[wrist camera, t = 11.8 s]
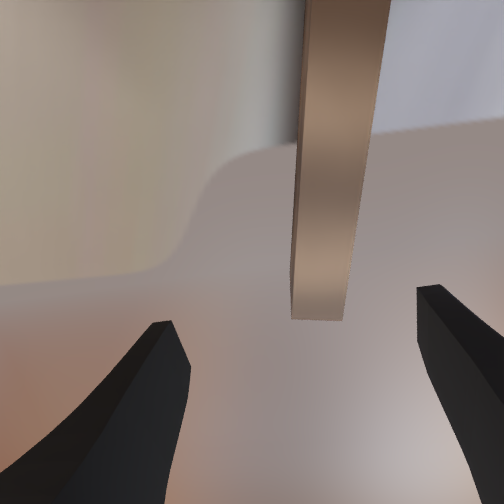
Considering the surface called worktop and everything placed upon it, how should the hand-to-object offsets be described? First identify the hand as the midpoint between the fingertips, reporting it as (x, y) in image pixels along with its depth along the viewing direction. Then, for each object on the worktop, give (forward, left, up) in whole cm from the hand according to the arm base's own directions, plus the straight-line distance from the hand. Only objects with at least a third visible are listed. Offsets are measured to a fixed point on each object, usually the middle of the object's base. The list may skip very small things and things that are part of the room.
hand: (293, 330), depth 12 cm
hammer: (-1, -4, -10) cm, 11 cm away
